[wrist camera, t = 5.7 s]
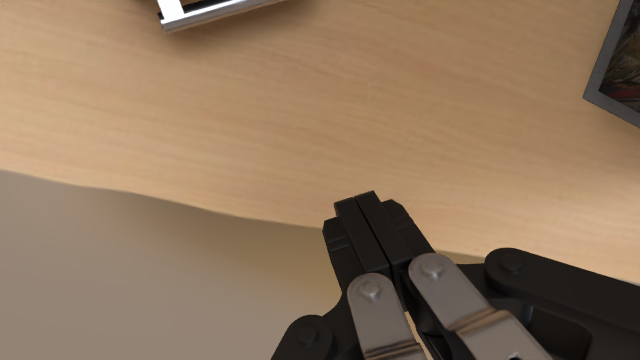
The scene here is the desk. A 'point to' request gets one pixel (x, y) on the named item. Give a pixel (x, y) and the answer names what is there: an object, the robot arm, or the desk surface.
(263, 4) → the oven door
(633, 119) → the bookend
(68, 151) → the desk surface
